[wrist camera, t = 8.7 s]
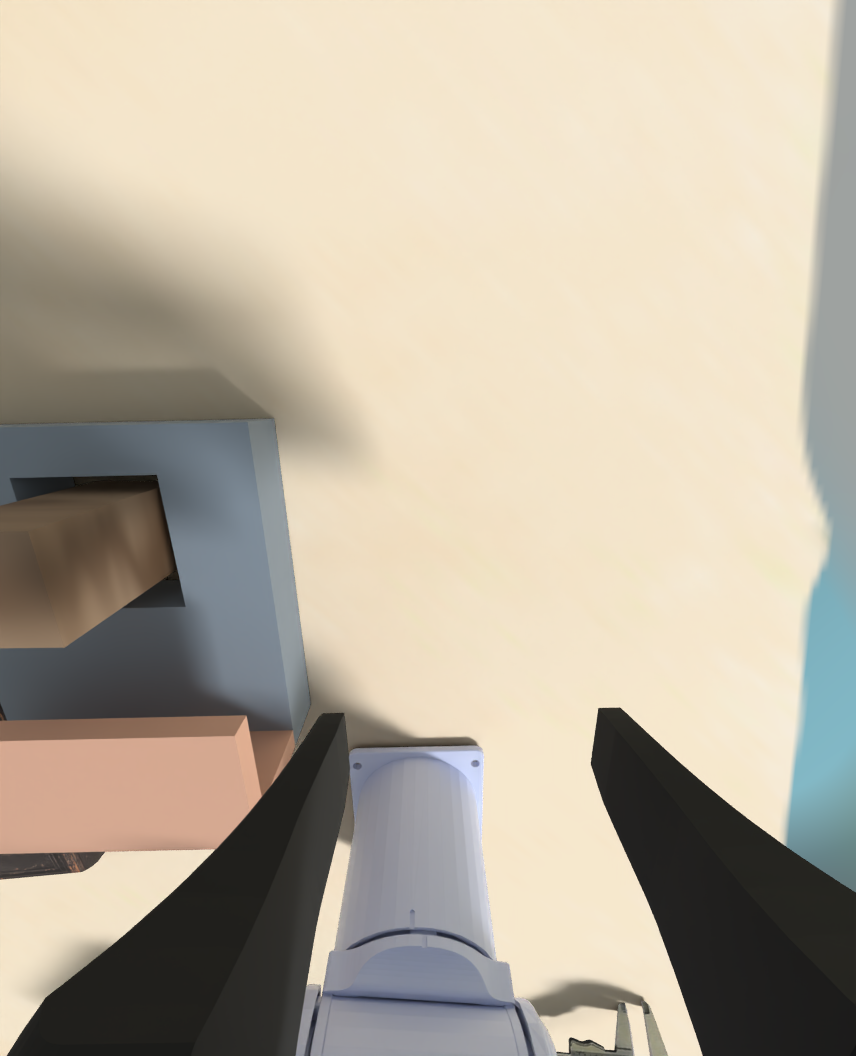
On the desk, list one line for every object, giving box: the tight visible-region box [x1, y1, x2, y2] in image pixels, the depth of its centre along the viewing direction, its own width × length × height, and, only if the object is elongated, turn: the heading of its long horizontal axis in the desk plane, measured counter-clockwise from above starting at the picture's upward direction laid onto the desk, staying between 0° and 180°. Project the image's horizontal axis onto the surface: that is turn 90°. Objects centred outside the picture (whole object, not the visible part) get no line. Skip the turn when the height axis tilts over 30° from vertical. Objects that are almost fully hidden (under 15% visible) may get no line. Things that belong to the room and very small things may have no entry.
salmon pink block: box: [0, 715, 295, 854], centre depth 18 cm, size 6×14×5 cm, turn 91°
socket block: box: [0, 419, 311, 745], centre depth 20 cm, size 16×14×3 cm
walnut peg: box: [0, 481, 177, 648], centre depth 17 cm, size 4×4×8 cm
